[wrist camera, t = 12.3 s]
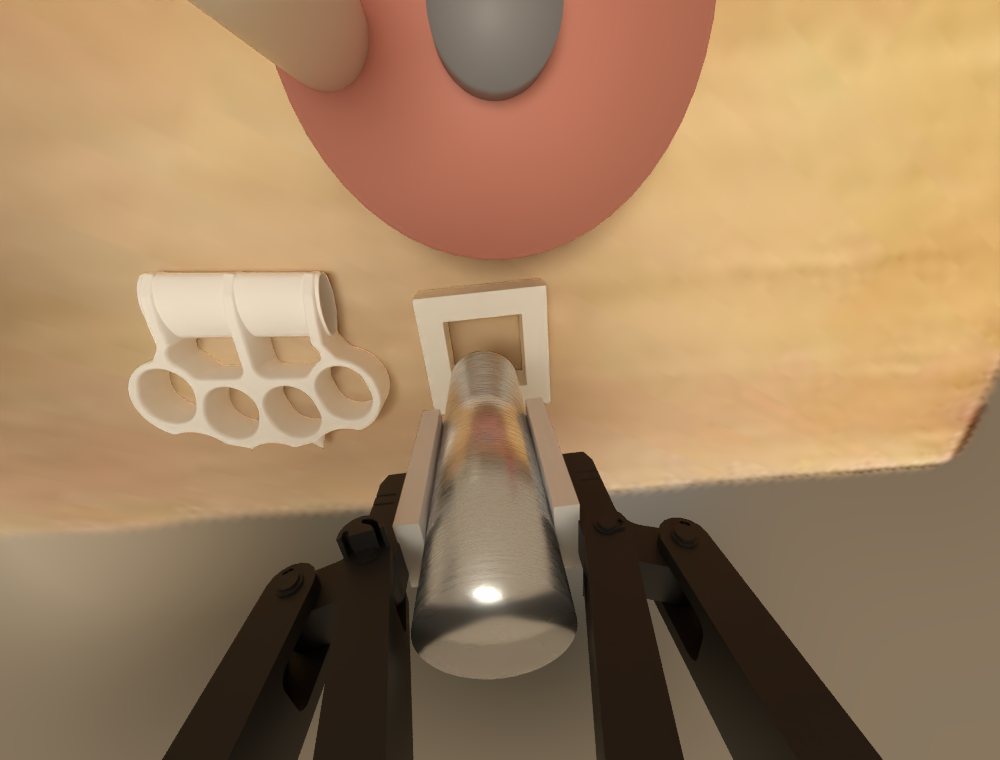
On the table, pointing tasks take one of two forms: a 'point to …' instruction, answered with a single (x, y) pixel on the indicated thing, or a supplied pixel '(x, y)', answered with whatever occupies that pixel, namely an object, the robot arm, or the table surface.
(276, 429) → the knuckle duster
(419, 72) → the handwheel
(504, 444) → the steel pin
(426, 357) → the eye block
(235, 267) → the table surface
